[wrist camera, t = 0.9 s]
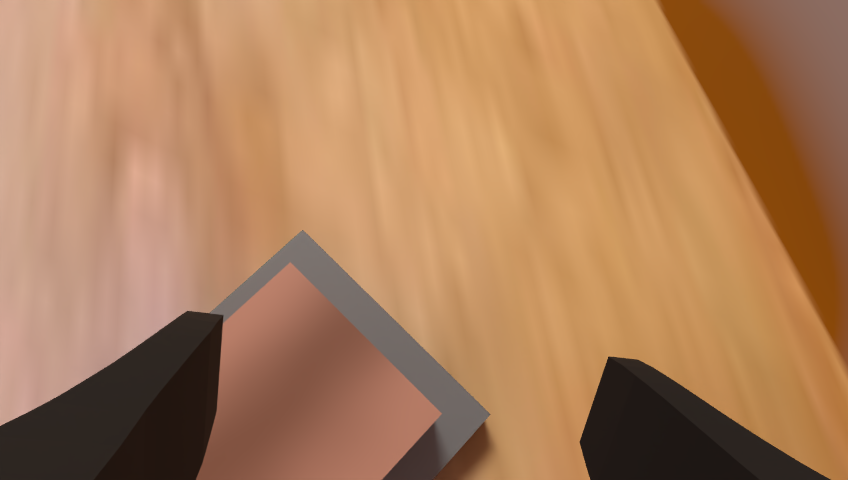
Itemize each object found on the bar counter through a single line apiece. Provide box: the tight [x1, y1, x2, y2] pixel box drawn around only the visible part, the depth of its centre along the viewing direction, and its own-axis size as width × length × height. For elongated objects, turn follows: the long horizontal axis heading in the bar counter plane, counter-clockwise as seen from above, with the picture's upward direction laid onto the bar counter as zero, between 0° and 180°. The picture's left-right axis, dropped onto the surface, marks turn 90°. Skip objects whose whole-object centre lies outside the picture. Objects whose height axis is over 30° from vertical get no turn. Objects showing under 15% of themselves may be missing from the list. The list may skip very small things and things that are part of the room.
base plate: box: [210, 230, 490, 480], centre depth 22 cm, size 10×10×2 cm
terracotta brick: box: [196, 262, 442, 480], centre depth 20 cm, size 7×7×3 cm
